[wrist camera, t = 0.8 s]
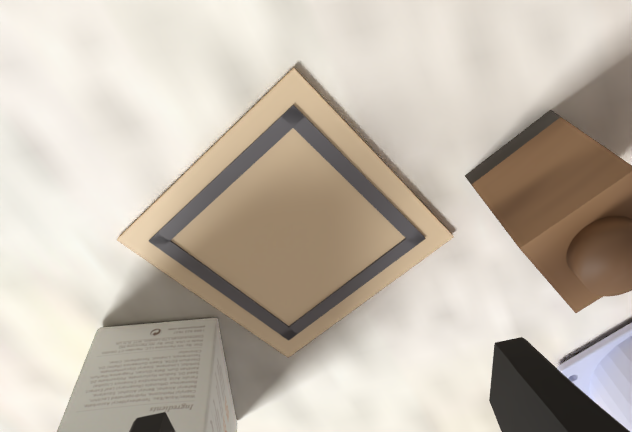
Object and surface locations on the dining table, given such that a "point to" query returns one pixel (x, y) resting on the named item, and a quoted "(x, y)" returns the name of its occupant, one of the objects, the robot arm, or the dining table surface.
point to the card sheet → (287, 221)
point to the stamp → (564, 207)
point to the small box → (153, 379)
